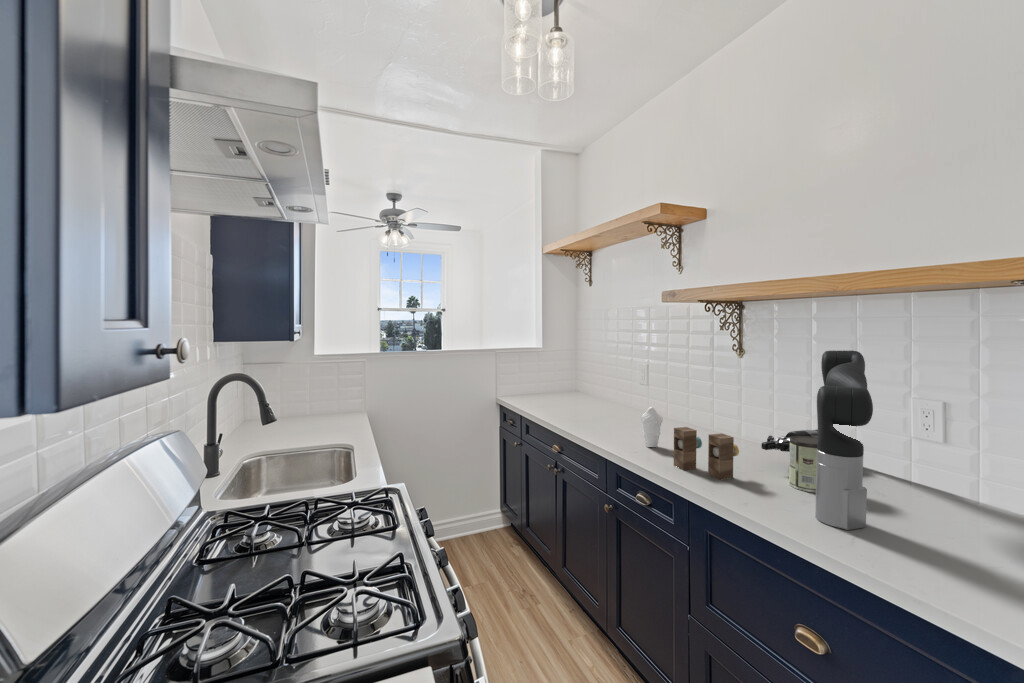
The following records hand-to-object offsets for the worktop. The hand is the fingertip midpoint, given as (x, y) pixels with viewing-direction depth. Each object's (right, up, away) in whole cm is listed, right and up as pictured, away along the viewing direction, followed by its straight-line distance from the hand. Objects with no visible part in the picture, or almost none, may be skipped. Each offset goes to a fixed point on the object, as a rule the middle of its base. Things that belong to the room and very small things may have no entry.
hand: (763, 446), depth 148 cm
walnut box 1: (-24, -8, +5) cm, 26 cm away
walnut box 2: (-16, -9, -4) cm, 19 cm away
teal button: (-22, -2, +5) cm, 23 cm away
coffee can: (+6, -9, -14) cm, 17 cm away
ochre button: (-15, -2, -4) cm, 15 cm away
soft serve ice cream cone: (-28, -7, +30) cm, 41 cm away
